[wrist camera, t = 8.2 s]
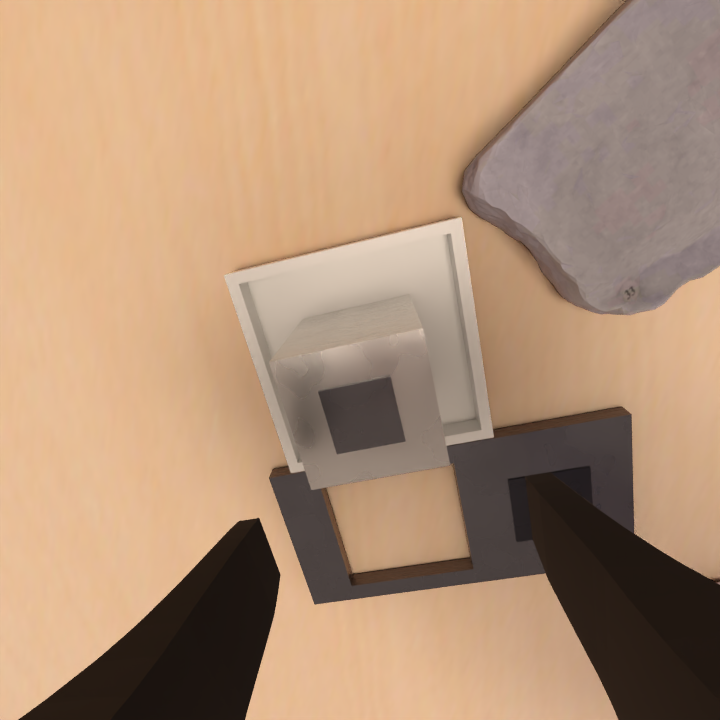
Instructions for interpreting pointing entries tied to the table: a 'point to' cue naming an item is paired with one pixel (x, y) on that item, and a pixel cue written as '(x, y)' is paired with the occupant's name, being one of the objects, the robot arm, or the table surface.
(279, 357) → the cube with square inset
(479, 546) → the plate with square cutout
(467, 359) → the tray
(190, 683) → the robot arm
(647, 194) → the stone block
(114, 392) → the table surface
